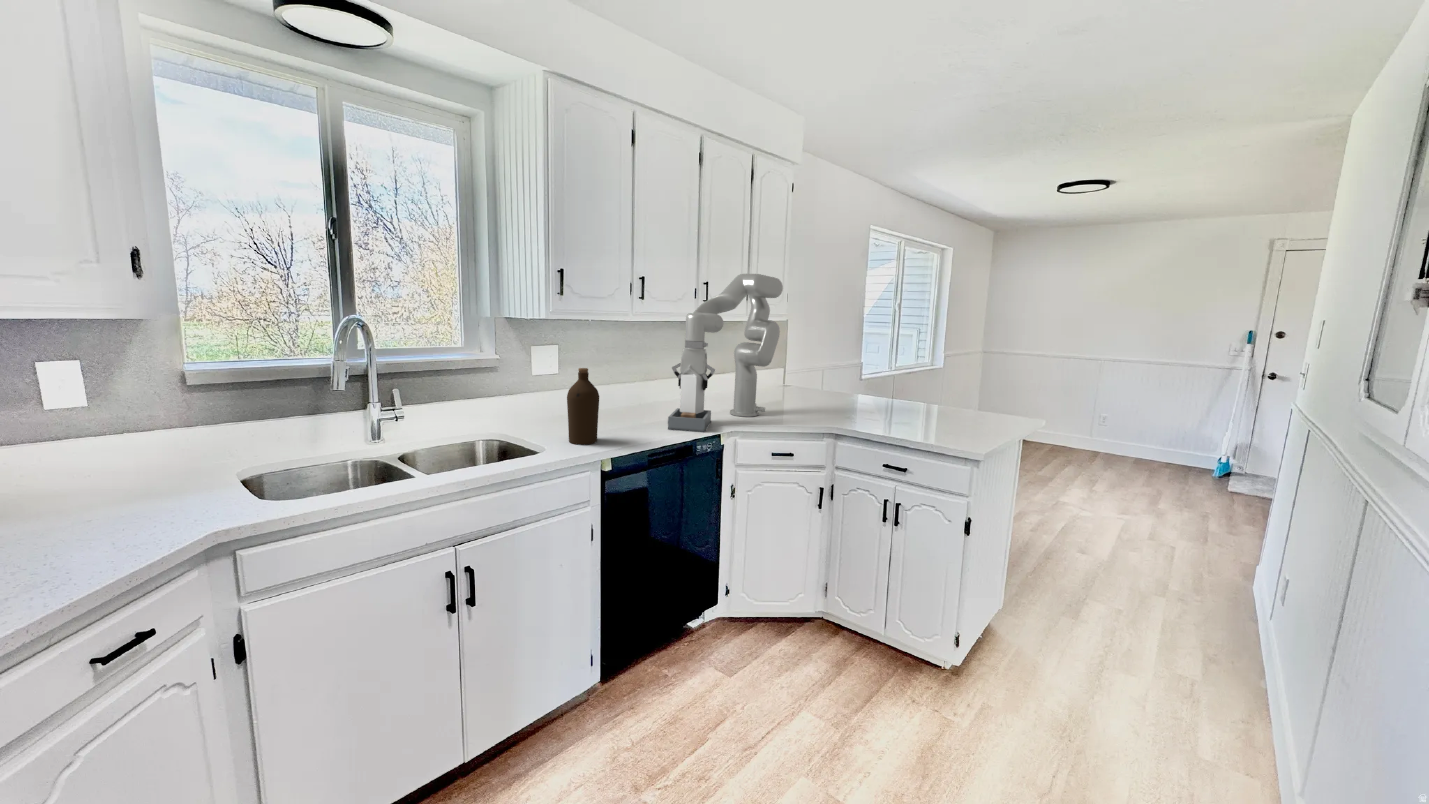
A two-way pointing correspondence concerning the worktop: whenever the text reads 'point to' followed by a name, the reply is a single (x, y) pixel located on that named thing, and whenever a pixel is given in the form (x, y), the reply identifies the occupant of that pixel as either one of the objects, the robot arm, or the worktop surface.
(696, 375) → the milk carton
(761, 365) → the robot arm
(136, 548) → the worktop surface
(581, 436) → the olive oil
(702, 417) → the tote
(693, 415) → the walnut cube
